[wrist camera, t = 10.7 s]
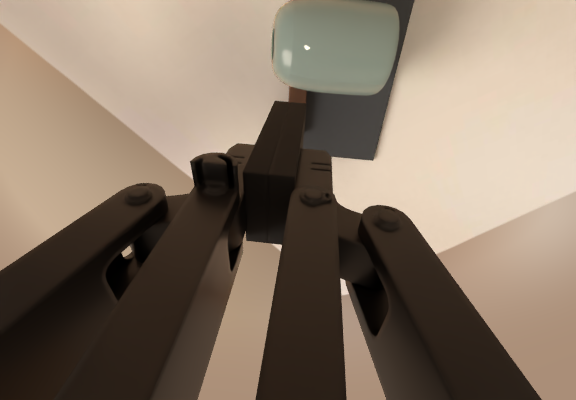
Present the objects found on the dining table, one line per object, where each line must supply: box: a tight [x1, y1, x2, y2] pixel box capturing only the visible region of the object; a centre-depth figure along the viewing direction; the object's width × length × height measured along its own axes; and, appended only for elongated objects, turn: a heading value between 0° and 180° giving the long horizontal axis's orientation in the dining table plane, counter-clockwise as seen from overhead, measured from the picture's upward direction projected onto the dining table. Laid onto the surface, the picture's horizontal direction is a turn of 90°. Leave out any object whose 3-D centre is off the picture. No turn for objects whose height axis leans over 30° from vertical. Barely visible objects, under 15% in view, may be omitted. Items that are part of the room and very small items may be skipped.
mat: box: [303, 0, 414, 160], centre depth 31 cm, size 10×22×1 cm, turn 177°
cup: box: [271, 0, 399, 96], centre depth 26 cm, size 8×8×10 cm
